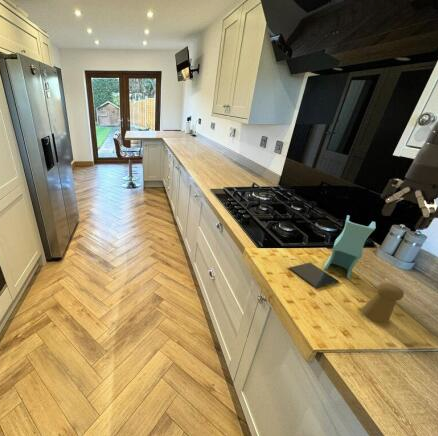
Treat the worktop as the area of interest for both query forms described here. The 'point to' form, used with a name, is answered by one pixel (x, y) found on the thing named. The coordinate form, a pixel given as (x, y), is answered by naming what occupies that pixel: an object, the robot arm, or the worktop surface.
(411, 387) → the worktop surface
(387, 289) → the cork
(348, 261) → the teal waisted stand
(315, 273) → the slate coaster
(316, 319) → the worktop surface
